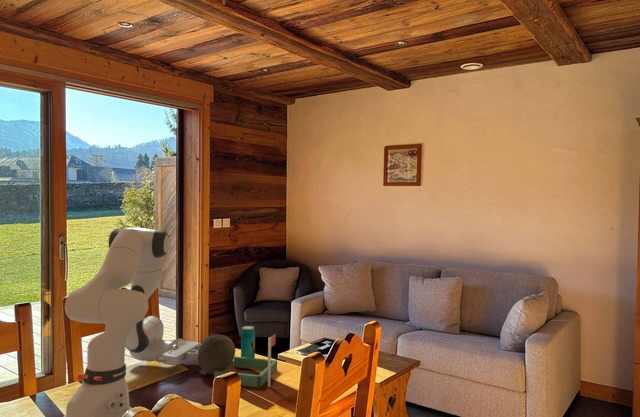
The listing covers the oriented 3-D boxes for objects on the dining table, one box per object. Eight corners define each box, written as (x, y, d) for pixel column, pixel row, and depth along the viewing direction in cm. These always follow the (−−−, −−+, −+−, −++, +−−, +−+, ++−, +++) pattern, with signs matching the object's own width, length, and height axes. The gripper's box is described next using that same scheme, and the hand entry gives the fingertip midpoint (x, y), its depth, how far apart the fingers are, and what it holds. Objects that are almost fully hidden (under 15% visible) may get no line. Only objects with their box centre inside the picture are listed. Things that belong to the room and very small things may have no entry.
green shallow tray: (268, 388, 183) (269, 339, 182) (214, 382, 188) (214, 334, 187) (284, 371, 201) (285, 326, 201) (234, 366, 206) (235, 322, 206)
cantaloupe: (219, 382, 188) (220, 342, 188) (189, 375, 194) (190, 337, 194) (241, 370, 201) (241, 333, 201) (212, 365, 207) (213, 329, 207)
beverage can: (251, 365, 207) (252, 329, 207) (238, 364, 209) (239, 328, 208) (256, 361, 213) (257, 326, 213) (243, 360, 214) (244, 325, 214)
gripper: (154, 351, 193) (187, 354, 189) (181, 337, 212) (211, 340, 209) (154, 367, 193) (187, 371, 190) (180, 352, 213) (211, 355, 209)
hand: (200, 354), depth 200 cm, fingers closed
